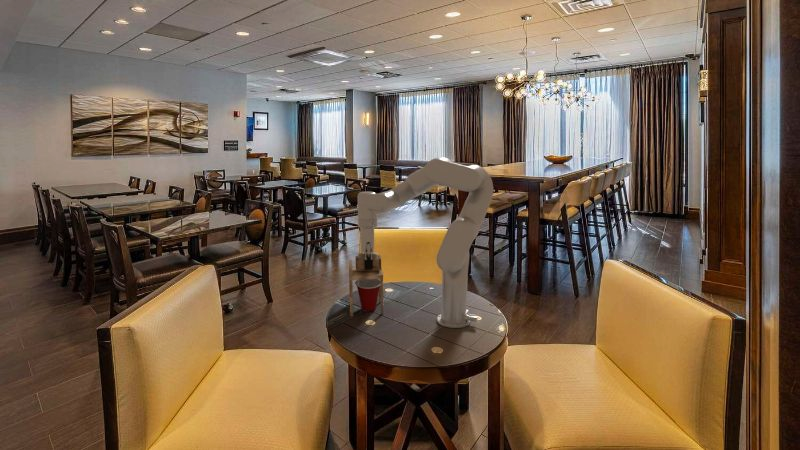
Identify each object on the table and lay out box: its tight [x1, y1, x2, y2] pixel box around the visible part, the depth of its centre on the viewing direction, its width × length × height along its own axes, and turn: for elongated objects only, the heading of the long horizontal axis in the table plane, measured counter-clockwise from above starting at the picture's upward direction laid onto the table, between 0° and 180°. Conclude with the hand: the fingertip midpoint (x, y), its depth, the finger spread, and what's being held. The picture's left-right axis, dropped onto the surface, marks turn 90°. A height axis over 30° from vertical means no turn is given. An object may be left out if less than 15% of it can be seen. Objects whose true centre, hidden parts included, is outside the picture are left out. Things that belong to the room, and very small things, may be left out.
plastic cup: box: [354, 279, 381, 312], centre depth 174 cm, size 11×11×12 cm
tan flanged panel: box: [348, 259, 384, 317], centre depth 174 cm, size 13×13×20 cm
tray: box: [355, 252, 382, 271], centre depth 172 cm, size 10×6×6 cm, turn 97°
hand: (368, 266), depth 172 cm, fingers closed on tray, 6 cm apart
